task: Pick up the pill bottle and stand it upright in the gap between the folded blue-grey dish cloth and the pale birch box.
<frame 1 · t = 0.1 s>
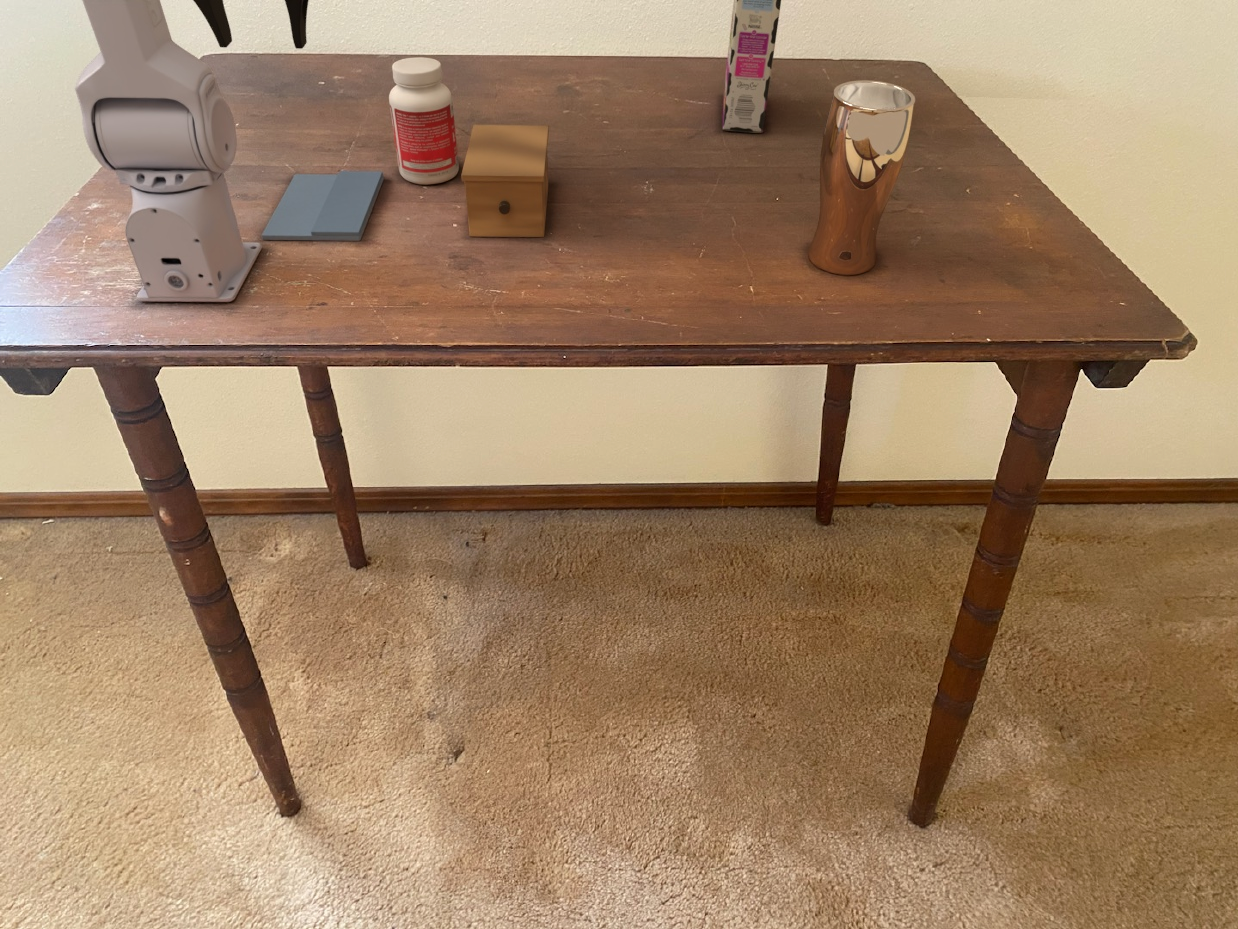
hand: (263, 44, 96), 10 cm above the table, tool pointing down, fingers open, 7 cm apart
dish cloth: (326, 207, 91), on the table
beer glass: (840, 260, 86), on the table
candy bar box: (743, 116, 111), on the table
birch box: (510, 209, 92), on the table
pill bottle: (429, 175, 97), on the table
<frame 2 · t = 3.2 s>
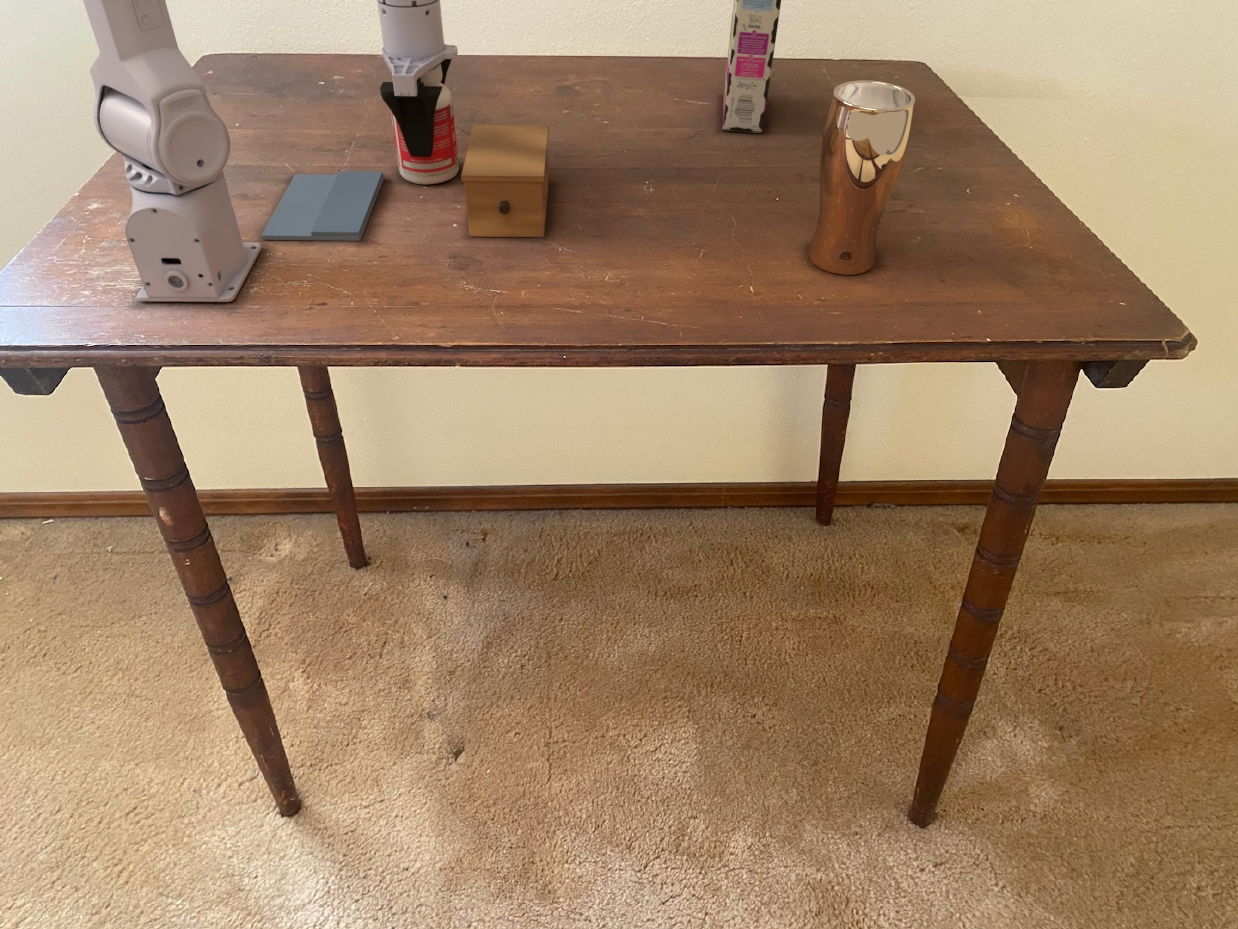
hand: (425, 141, 95), 3 cm above the table, tool pointing down, fingers closed on pill bottle, 6 cm apart
pill bottle: (429, 175, 97), on the table, touching gripper
everything else where it was.
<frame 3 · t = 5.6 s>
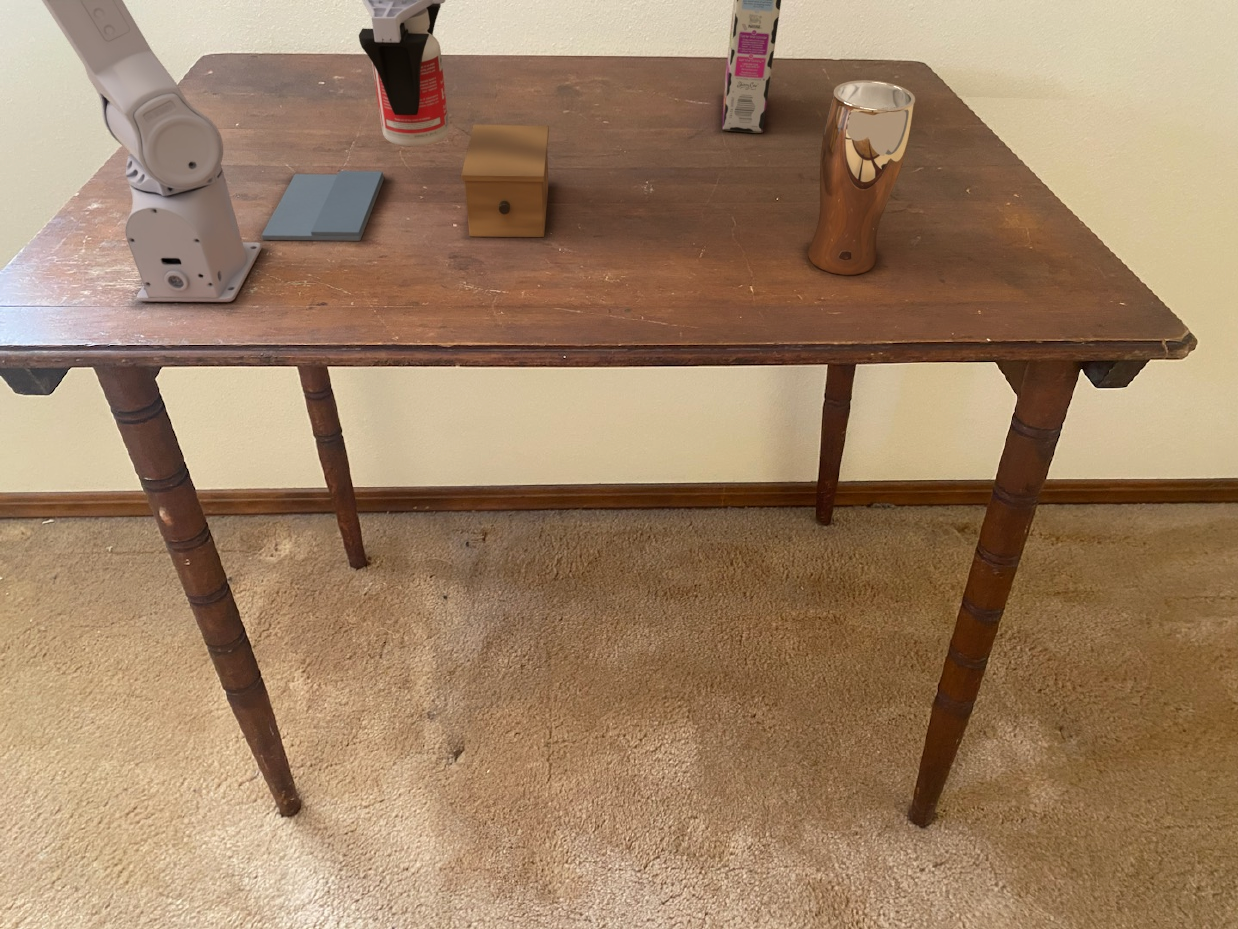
hand: (411, 99, 86), 10 cm above the table, tool pointing down, fingers closed on pill bottle, 6 cm apart
pill bottle: (416, 137, 88), point 7 cm above the table, touching gripper
everything else where it was.
when the fingers open (3 cm above the table, at t = 8.0 s): pill bottle stays where it is, on the table.
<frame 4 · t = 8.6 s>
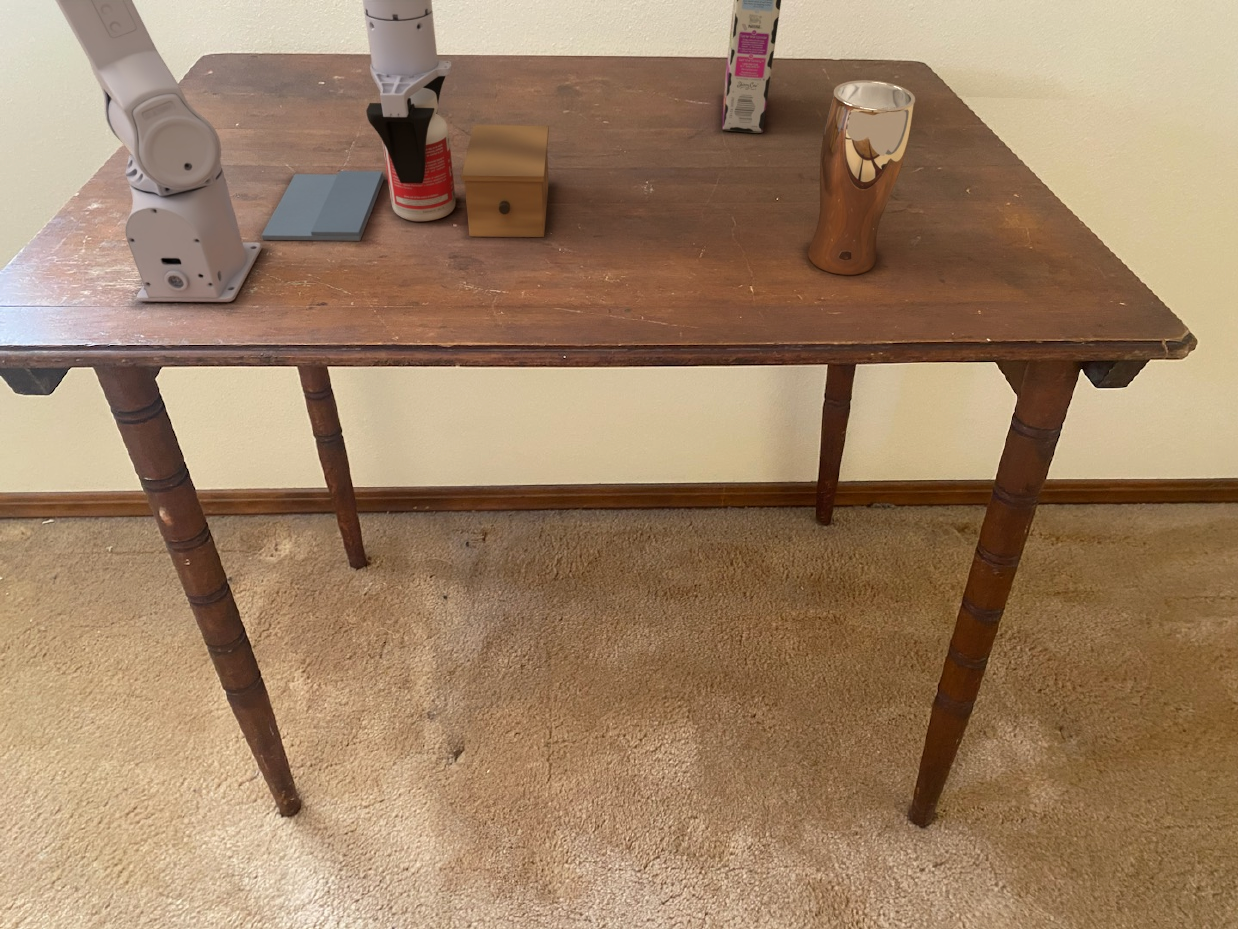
hand: (417, 163, 88), 5 cm above the table, tool pointing down, fingers open, 7 cm apart
pill bottle: (424, 210, 92), on the table
everything else where it was.
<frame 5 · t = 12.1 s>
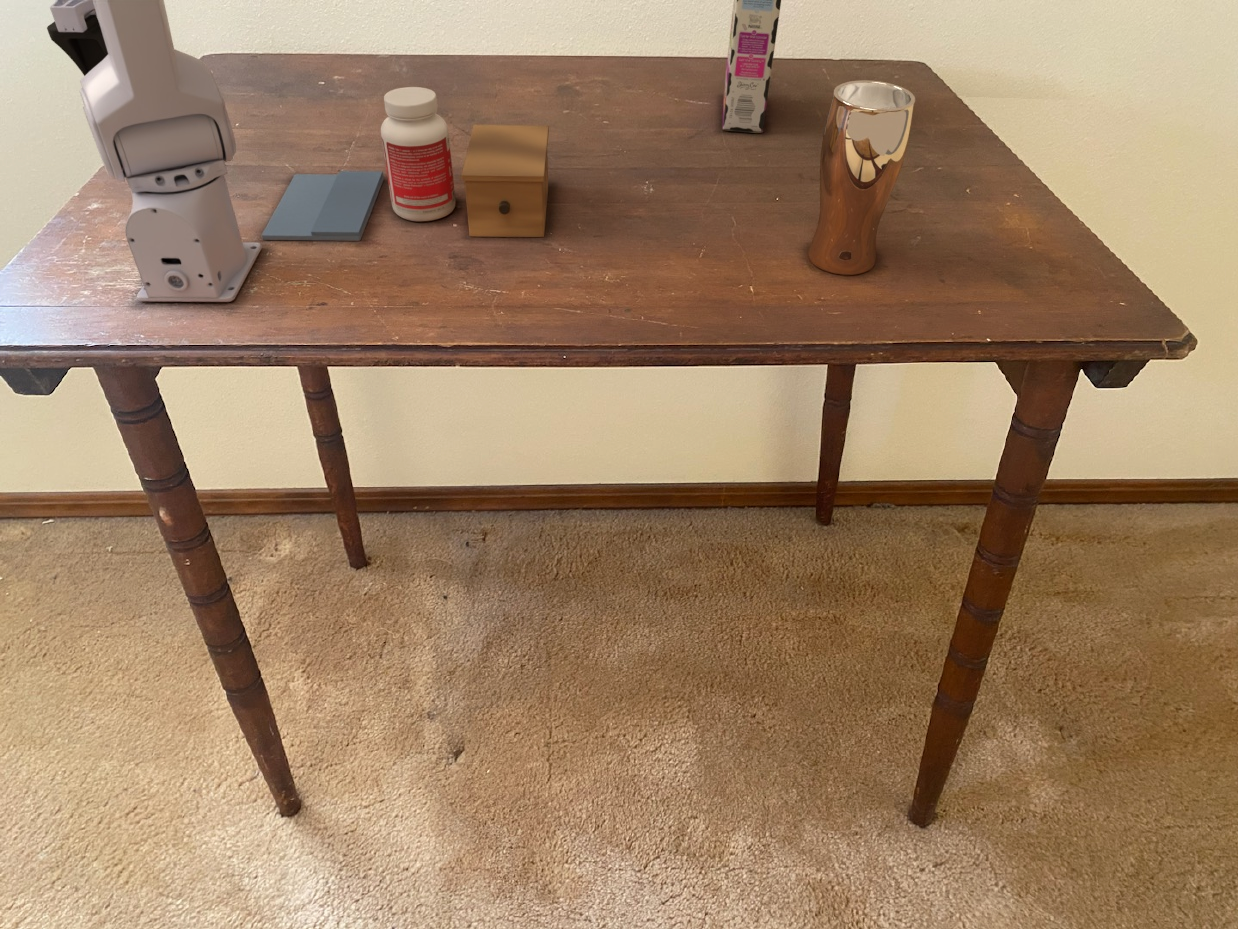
hand: (133, 90, 85), 10 cm above the table, tool pointing down, fingers open, 7 cm apart
nothing on the table moved.
at the end: pill bottle 0.0 cm from the target spot, on the table; pill bottle tilted 0°; the gripper is holding nothing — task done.
